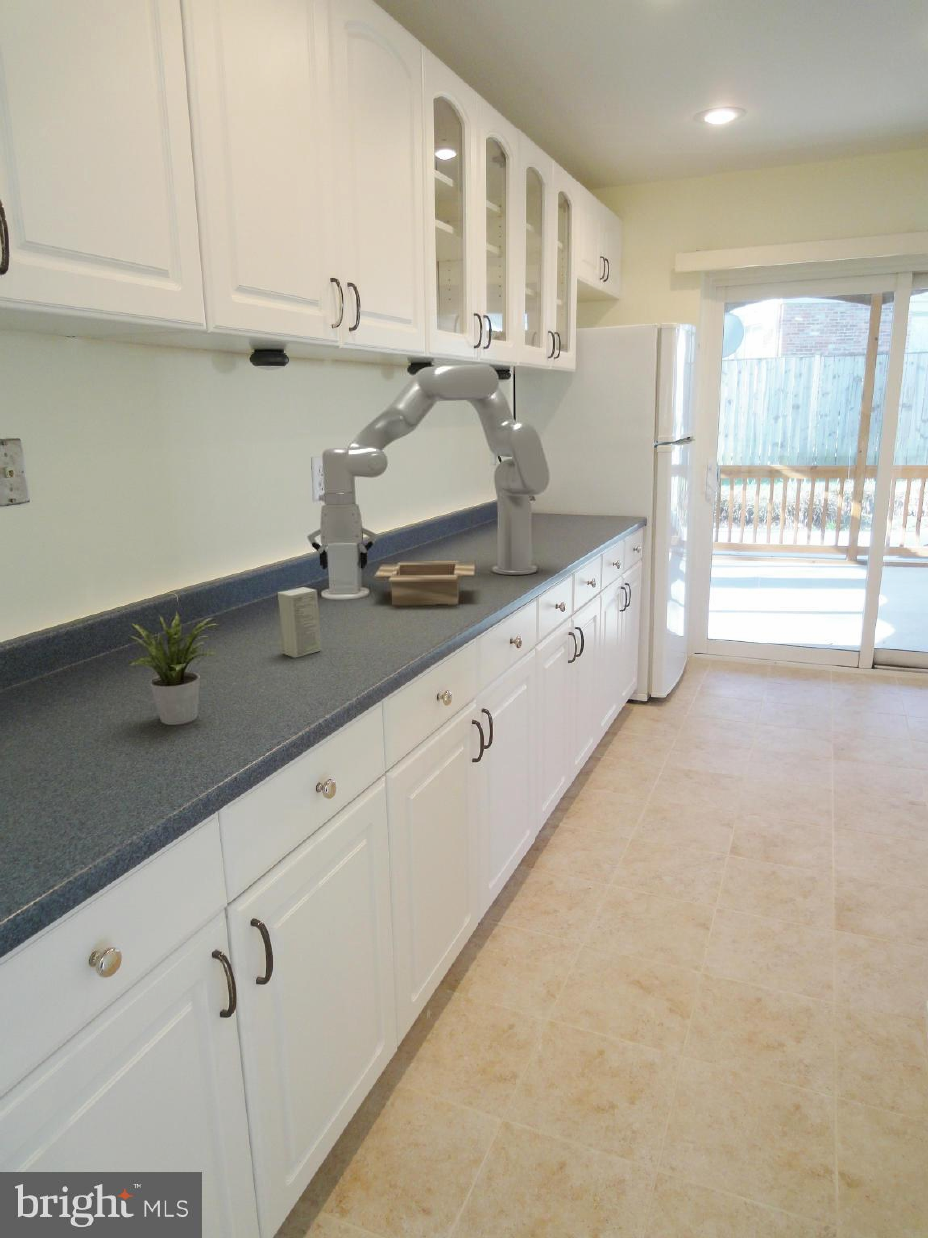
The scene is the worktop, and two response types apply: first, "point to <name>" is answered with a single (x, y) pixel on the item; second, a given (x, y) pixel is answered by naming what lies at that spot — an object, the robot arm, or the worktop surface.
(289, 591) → the skincare box
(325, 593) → the plate
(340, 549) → the supplement box
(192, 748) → the worktop surface
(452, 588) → the carton
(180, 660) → the house plant
